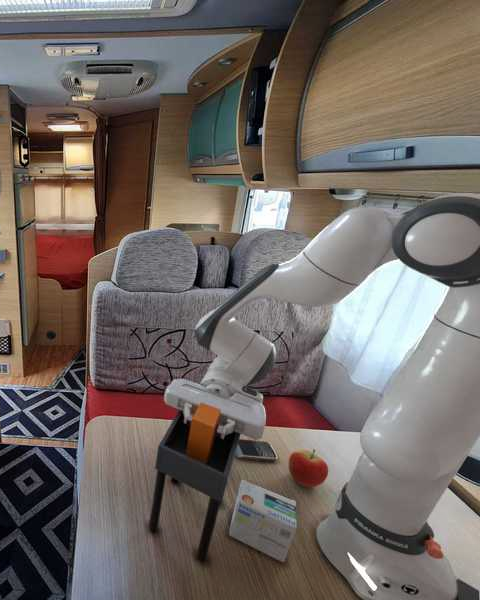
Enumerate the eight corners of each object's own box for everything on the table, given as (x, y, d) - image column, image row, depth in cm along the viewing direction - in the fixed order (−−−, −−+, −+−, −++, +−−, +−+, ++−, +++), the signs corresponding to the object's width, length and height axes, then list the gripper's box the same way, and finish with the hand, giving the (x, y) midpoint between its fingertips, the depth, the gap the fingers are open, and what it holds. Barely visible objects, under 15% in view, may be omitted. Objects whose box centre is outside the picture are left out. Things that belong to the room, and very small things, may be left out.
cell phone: (278, 462, 89) (279, 458, 89) (236, 459, 90) (237, 455, 89) (268, 445, 95) (269, 441, 94) (229, 441, 96) (229, 438, 95)
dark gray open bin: (238, 444, 72) (243, 422, 69) (221, 502, 59) (227, 478, 57) (181, 420, 78) (184, 400, 76) (155, 468, 65) (158, 445, 63)
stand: (222, 501, 78) (236, 444, 72) (204, 564, 66) (220, 501, 59) (172, 476, 84) (181, 421, 78) (147, 529, 72) (156, 468, 65)
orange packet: (212, 447, 69) (220, 409, 66) (205, 467, 65) (213, 427, 61) (193, 439, 71) (200, 402, 68) (185, 457, 67) (192, 418, 63)
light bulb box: (284, 535, 71) (297, 500, 67) (284, 565, 66) (298, 528, 62) (231, 510, 76) (241, 476, 72) (227, 536, 71) (237, 501, 67)
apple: (279, 479, 84) (289, 449, 81) (290, 462, 89) (300, 434, 86) (315, 501, 79) (328, 471, 75) (325, 482, 84) (337, 453, 80)
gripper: (176, 366, 80) (155, 396, 69) (271, 397, 69) (263, 438, 58) (173, 387, 82) (152, 419, 71) (264, 421, 72) (255, 464, 61)
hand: (203, 428), depth 65 cm, fingers open, 5 cm apart
